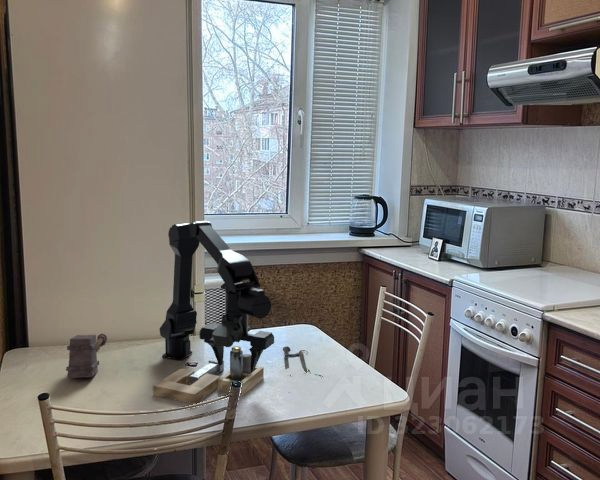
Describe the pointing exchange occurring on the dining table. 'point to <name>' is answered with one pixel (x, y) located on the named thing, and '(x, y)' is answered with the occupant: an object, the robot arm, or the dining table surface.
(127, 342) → the dining table surface
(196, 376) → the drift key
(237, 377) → the grey metal cylinder
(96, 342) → the hammer
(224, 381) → the rack
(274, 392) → the dining table surface
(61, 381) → the dining table surface
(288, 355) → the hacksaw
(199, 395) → the socket block
